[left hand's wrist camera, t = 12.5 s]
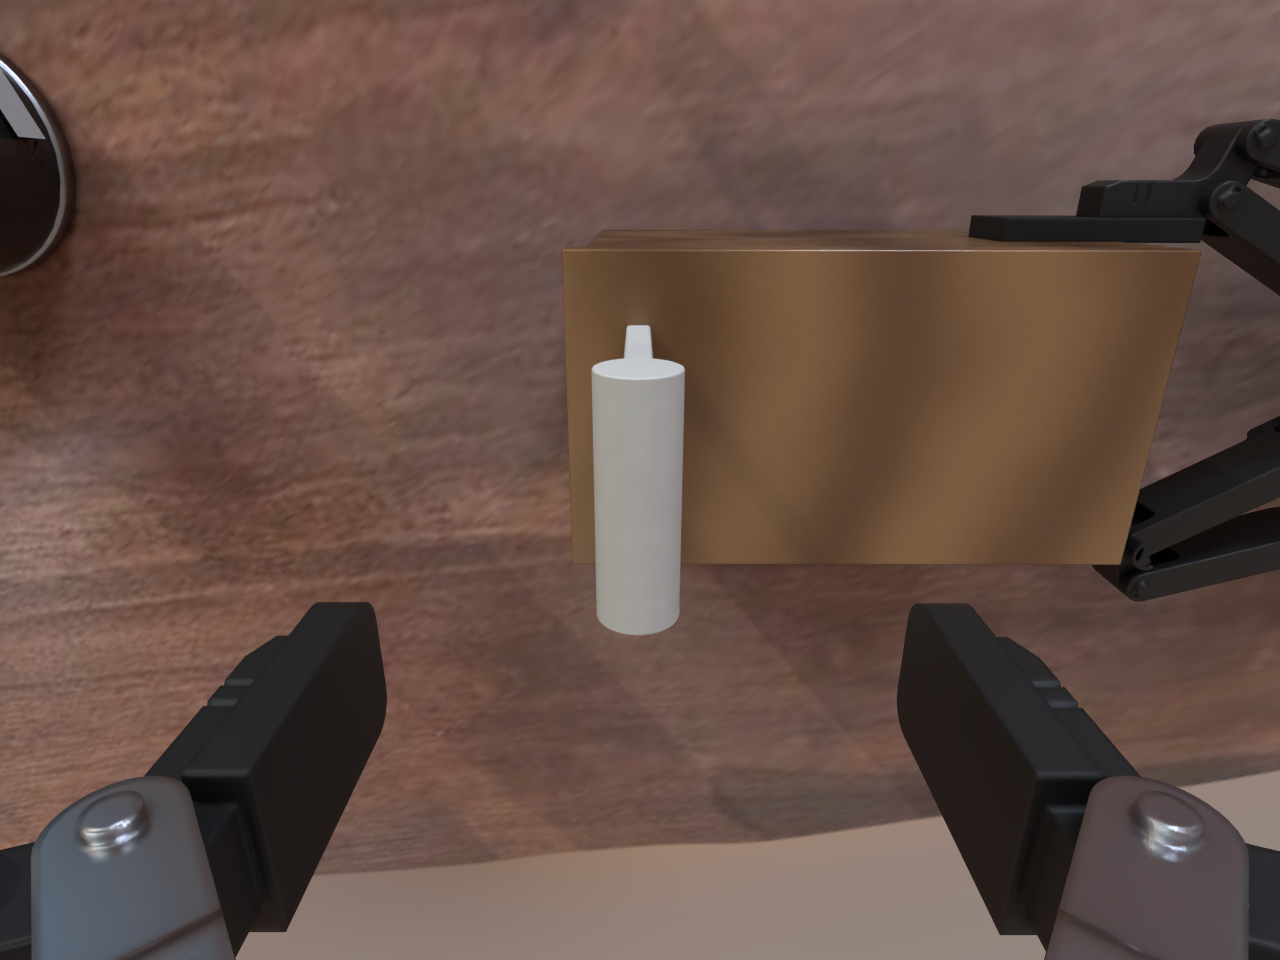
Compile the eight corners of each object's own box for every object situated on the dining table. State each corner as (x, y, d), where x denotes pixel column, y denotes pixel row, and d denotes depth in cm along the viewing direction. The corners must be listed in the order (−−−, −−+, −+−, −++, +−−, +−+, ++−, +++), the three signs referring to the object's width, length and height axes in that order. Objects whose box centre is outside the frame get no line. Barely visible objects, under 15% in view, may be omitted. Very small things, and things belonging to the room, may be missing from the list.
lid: (574, 550, 26) (546, 707, 18) (565, 246, 22) (524, 277, 14) (1103, 551, 26) (1304, 707, 18) (1178, 248, 22) (1469, 278, 14)
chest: (604, 453, 35) (592, 550, 26) (600, 229, 31) (584, 246, 22) (978, 454, 35) (1102, 550, 26) (1016, 230, 31) (1177, 247, 22)
